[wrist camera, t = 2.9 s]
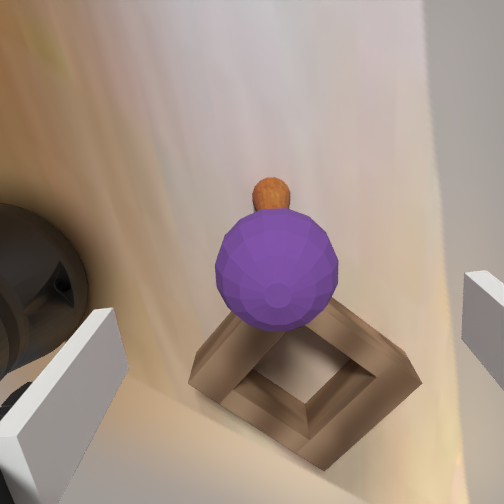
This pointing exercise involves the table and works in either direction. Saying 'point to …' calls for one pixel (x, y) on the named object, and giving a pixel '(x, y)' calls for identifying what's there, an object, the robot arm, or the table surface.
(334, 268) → the kendama
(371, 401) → the socket block
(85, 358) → the robot arm
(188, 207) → the table surface
